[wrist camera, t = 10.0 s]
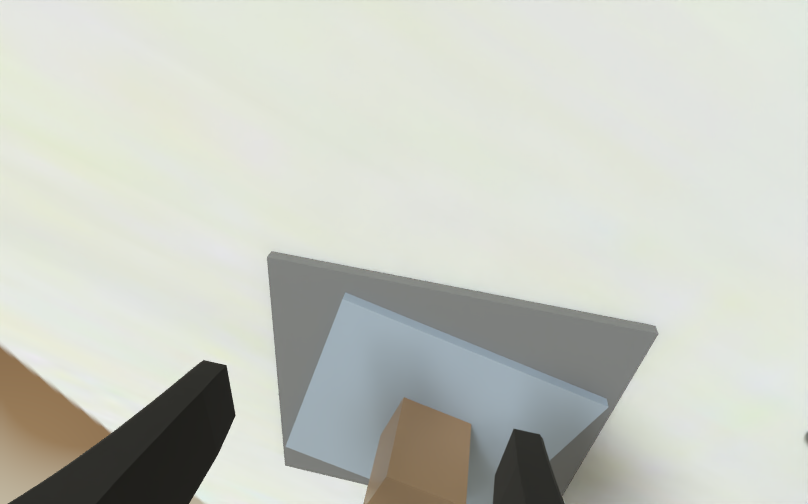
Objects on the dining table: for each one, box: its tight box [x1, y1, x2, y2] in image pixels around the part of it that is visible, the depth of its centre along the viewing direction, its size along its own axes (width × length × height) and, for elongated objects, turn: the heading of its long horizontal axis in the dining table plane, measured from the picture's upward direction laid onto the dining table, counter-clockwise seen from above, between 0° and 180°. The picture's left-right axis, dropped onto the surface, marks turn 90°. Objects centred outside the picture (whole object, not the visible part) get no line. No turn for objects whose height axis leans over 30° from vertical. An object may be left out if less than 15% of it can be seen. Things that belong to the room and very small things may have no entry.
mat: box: [267, 251, 658, 496], centre depth 26 cm, size 18×18×1 cm
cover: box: [285, 293, 609, 504], centre depth 24 cm, size 14×14×5 cm
